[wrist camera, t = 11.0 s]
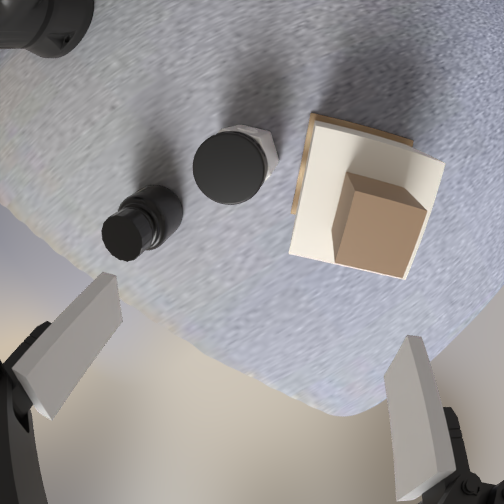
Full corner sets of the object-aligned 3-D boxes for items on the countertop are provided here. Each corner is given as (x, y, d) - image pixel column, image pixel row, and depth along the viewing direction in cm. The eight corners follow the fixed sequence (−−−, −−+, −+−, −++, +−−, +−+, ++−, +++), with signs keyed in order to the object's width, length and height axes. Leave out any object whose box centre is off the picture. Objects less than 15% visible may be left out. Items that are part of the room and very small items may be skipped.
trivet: (310, 112, 39) (310, 112, 39) (412, 140, 38) (413, 140, 38) (290, 212, 46) (290, 213, 46) (385, 235, 45) (386, 236, 45)
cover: (314, 120, 39) (316, 130, 20) (405, 144, 38) (477, 180, 19) (296, 209, 46) (281, 290, 26) (381, 229, 44) (421, 319, 25)
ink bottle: (138, 176, 48) (95, 198, 38) (187, 187, 48) (151, 213, 37) (135, 229, 53) (96, 260, 42) (180, 242, 52) (148, 278, 42)
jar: (286, 134, 41) (276, 143, 31) (272, 187, 45) (258, 214, 35) (225, 119, 42) (195, 124, 31) (214, 172, 46) (183, 194, 35)
